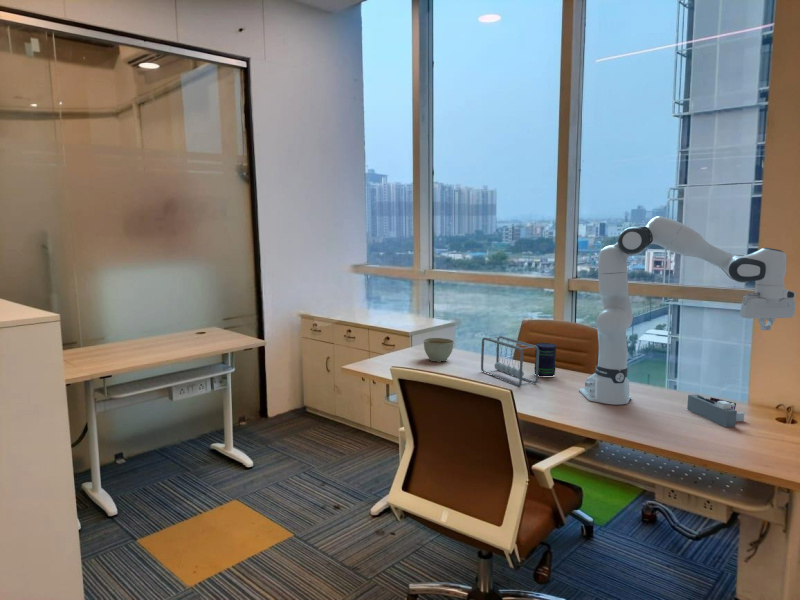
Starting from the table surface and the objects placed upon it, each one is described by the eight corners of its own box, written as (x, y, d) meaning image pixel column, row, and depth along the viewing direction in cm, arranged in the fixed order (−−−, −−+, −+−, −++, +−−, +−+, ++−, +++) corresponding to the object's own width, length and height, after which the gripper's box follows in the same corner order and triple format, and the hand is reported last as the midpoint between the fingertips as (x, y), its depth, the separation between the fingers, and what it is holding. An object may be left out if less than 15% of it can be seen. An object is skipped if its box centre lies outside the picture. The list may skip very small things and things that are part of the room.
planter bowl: (444, 365, 282) (444, 345, 280) (417, 361, 290) (417, 341, 289) (458, 359, 295) (459, 340, 294) (432, 355, 304) (433, 336, 302)
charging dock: (687, 409, 216) (688, 389, 215) (713, 408, 218) (715, 388, 217) (725, 427, 196) (727, 405, 195) (754, 425, 198) (756, 404, 197)
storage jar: (558, 377, 261) (560, 346, 259) (538, 378, 260) (540, 347, 258) (550, 372, 271) (551, 342, 269) (531, 372, 269) (532, 343, 268)
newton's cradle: (538, 384, 248) (540, 346, 246) (520, 387, 244) (521, 348, 241) (497, 369, 275) (498, 335, 273) (480, 372, 270) (481, 336, 268)
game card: (709, 396, 211) (735, 402, 204) (715, 399, 214) (740, 405, 207) (705, 413, 210) (731, 420, 203) (711, 415, 213) (736, 422, 206)
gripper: (751, 293, 194) (747, 332, 196) (800, 293, 198) (796, 331, 200) (737, 291, 200) (734, 329, 202) (785, 291, 204) (781, 328, 206)
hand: (765, 330), depth 201 cm, fingers closed
